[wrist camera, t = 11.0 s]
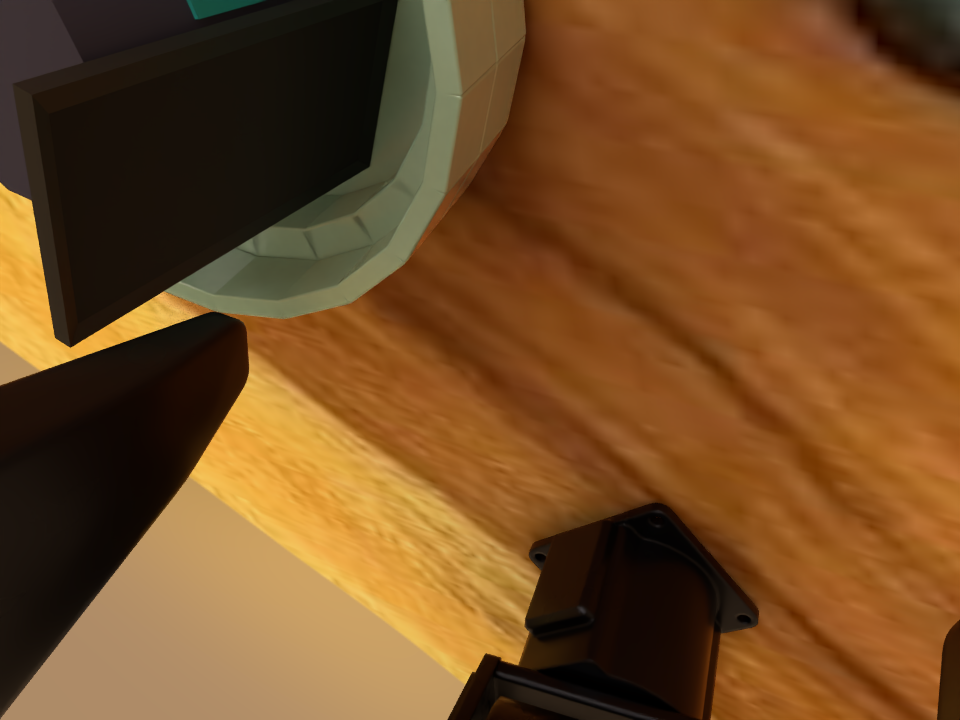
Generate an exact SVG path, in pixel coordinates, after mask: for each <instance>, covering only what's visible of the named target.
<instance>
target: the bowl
mask: <svg viewBox="0 0 960 720" xmlns="http://www.w3.org/2000/svg"><path fill="white" fill-rule="evenodd" d="M525 35H526V25H525V12H524V0H398V2H397V8H396V14H395V19H394V25H393V31H392V37H391V43H390V49H389V55H388V61H387V67H386V73H385V78H384V84H383V90H382V96H381V102H380V108H379V114H378V120H377V126H376V132H375V138H374V143H373V149H372V155H371V161H370V167H369V168H367V169H365V170H364V171H362V172H360V173H359V174H357V175H355V176H354V177H352V178H350V179H349V180H347V181H346V182H344V183H342V184H341V185H339V186H337V187H336V188H334V189H332V190H331V191H329V192H327V193H326V194H324V195H322V196H321V197H319V198H317V199H316V200H314V201H312V202H311V203H309V204H307V205H306V206H304V207H302V208H301V209H299V210H297V211H296V212H294V213H293V214H291V215H289V216H288V217H286V218H284V219H283V220H281V221H279V222H278V223H276V224H274V225H273V226H271V227H269V228H268V229H266V230H264V231H263V232H261V233H259V234H258V235H256V236H254V237H253V238H251V239H249V240H248V241H246V242H245V243H243V244H241V245H240V246H238V247H236V248H235V249H233V250H231V251H230V252H228V253H226V254H225V255H223V256H221V257H220V258H218V259H216V260H215V261H213V262H211V263H210V264H208V265H206V266H205V267H203V268H201V269H200V270H198V271H196V272H195V273H193V274H192V275H190V276H188V277H187V278H185V279H183V280H182V281H180V282H178V283H177V284H175V285H173V286H172V287H170V288H168V289H167V290H165V291H164V292H166V293H169V294H172V295H174V296H177V297H179V298H182V299H185V300H187V301H190V302H192V303H195V304H197V305H200V306H203V307H205V308H208V309H210V310H213V311H216V312H217V311H218V312H220V313H230V314H239V315H249V316H259V317H268V318H278V319H286V318H287V319H288V318H293V317H297V316H301V315H305V314H309V313H314V312H318V311H322V310H326V309H330V308H335V307H339V306H343V305H347V304H350V303H353V302H354V301H355V300H357V299H358V298H360V297H361V296H362V295H364V294H365V293H366V292H368V291H369V290H370V289H372V288H373V287H375V286H376V285H377V284H379V283H380V282H381V281H383V280H384V279H385V278H387V277H388V276H390V275H391V274H392V273H394V272H395V271H396V270H398V269H399V268H400V267H402V266H403V265H404V264H405V263H406V262H407V261H408V260H409V259H410V258H411V256H412V255H413V254H414V253H415V251H416V250H417V249H418V248H419V246H420V245H421V244H422V243H423V242H424V240H425V239H426V238H427V237H428V235H429V234H430V233H431V232H432V230H433V229H434V228H435V227H436V226H437V224H438V223H439V222H440V221H441V219H442V218H443V217H444V216H445V215H446V213H447V212H448V211H449V210H450V208H451V207H452V206H453V205H454V203H455V202H456V201H457V200H458V199H459V197H460V196H461V195H462V194H463V192H464V191H465V190H466V189H467V187H468V186H469V185H470V184H471V182H472V180H473V179H474V177H475V175H476V174H477V172H478V170H479V169H480V167H481V165H482V164H483V162H484V160H485V159H486V157H487V156H488V154H489V152H490V151H491V149H492V147H493V146H494V144H495V142H496V141H497V139H498V137H499V136H500V134H501V132H502V131H503V129H504V127H505V126H506V122H507V121H508V117H509V113H510V108H511V104H512V99H513V94H514V90H515V85H516V80H517V76H518V71H519V66H520V62H521V57H522V53H523V48H524V43H525Z"/></svg>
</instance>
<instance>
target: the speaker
mask: <svg viewBox="0 0 960 720" xmlns="http://www.w3.org/2000/svg"><path fill="white" fill-rule="evenodd" d="M397 2H398V0H0V182H1V183H2V184H3V185H4V186H5V187H6V188H7V189H8V190H10V191H12V192H14V193H17V194H19V195H21V196H23V197H25V198H28V199H30V200H32V204H33V210H34V216H35V222H36V228H37V234H38V240H39V246H40V252H41V258H42V264H43V269H44V275H45V281H46V287H47V293H48V299H49V305H50V311H51V317H52V323H53V329H54V335H55V338H56V339H58V340H59V341H61V342H62V343H64V344H65V345H67V346H69V347H70V348H71V347H72V346H74V345H76V344H77V343H79V342H81V341H82V340H84V339H86V338H87V337H89V336H91V335H92V334H94V333H95V332H97V331H99V330H100V329H102V328H104V327H105V326H107V325H109V324H110V323H112V322H114V321H115V320H117V319H119V318H120V317H122V316H124V315H125V314H127V313H129V312H130V311H132V310H134V309H135V308H137V307H139V306H140V305H142V304H143V303H145V302H147V301H148V300H150V299H152V298H153V297H155V296H157V295H158V294H160V293H162V292H163V291H165V290H167V289H168V288H170V287H172V286H173V285H175V284H177V283H178V282H180V281H182V280H183V279H185V278H187V277H188V276H190V275H192V274H193V273H195V272H196V271H198V270H200V269H201V268H203V267H205V266H206V265H208V264H210V263H211V262H213V261H215V260H216V259H218V258H220V257H221V256H223V255H225V254H226V253H228V252H230V251H231V250H233V249H235V248H236V247H238V246H240V245H241V244H243V243H245V242H246V241H248V240H249V239H251V238H253V237H254V236H256V235H258V234H259V233H261V232H263V231H264V230H266V229H268V228H269V227H271V226H273V225H274V224H276V223H278V222H279V221H281V220H283V219H284V218H286V217H288V216H289V215H291V214H293V213H294V212H296V211H297V210H299V209H301V208H302V207H304V206H306V205H307V204H309V203H311V202H312V201H314V200H316V199H317V198H319V197H321V196H322V195H324V194H326V193H327V192H329V191H331V190H332V189H334V188H336V187H337V186H339V185H341V184H342V183H344V182H346V181H347V180H349V179H350V178H352V177H354V176H355V175H357V174H359V173H360V172H362V171H364V170H365V169H367V168H369V167H370V161H371V155H372V149H373V143H374V138H375V132H376V126H377V120H378V114H379V108H380V102H381V96H382V90H383V84H384V78H385V73H386V67H387V61H388V55H389V49H390V43H391V37H392V31H393V25H394V19H395V14H396V8H397Z"/></svg>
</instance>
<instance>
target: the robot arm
mask: <svg viewBox="0 0 960 720" xmlns="http://www.w3.org/2000/svg"><path fill="white" fill-rule="evenodd" d="M248 374H249V359H248V344H247V331H246V327H245V325H244V323H243V322H242V321H240V320H238V319H236V318H233V317H230V316H227V315H224V314H222V313H219V312H210V313H206V314H203V315H200V316H197V317H194V318H192V319H189V320H186V321H183V322H180V323H177V324H174V325H172V326H169V327H166V328H163V329H160V330H157V331H155V332H152V333H149V334H146V335H143V336H140V337H137V338H135V339H132V340H129V341H126V342H123V343H120V344H117V345H115V346H112V347H109V348H106V349H103V350H100V351H97V352H95V353H92V354H89V355H86V356H83V357H80V358H77V359H75V360H72V361H69V362H66V363H63V364H60V365H58V366H55V367H52V368H49V369H46V370H43V371H40V372H38V373H35V374H32V375H29V376H26V377H23V378H20V379H18V380H15V381H12V382H9V383H7V384H3V385H1V386H0V718H1V717H2V716H3V715H4V713H5V712H6V711H7V710H8V708H9V707H10V706H11V704H12V703H13V702H14V700H15V699H16V698H17V697H18V695H19V694H20V693H21V691H22V690H23V689H24V688H25V686H26V685H27V684H28V683H29V681H30V680H31V679H32V678H33V676H34V675H35V674H36V672H37V671H38V670H39V669H40V667H41V666H42V665H43V663H44V662H45V661H46V660H47V658H48V657H49V656H50V655H51V653H52V652H53V651H54V649H55V648H56V647H57V646H58V644H59V643H60V642H61V640H62V639H63V638H64V637H65V635H66V634H67V632H68V631H69V630H70V629H71V628H72V626H73V625H74V624H75V622H76V621H77V620H78V619H79V617H80V616H81V615H82V614H83V612H84V611H85V610H86V608H87V607H88V606H89V605H90V603H91V602H92V601H93V600H94V598H95V597H96V596H97V594H98V593H99V592H100V591H101V589H102V588H103V587H104V585H105V584H106V583H107V582H108V580H109V579H110V578H111V577H112V575H113V574H114V573H115V571H116V570H117V569H118V568H119V566H120V565H121V564H122V562H123V561H124V560H125V559H126V557H127V556H128V555H129V554H130V552H131V551H132V550H133V548H134V547H135V546H136V545H137V543H138V542H139V541H140V539H141V538H142V537H143V536H144V534H145V533H146V532H147V530H148V529H149V528H150V527H151V525H152V524H153V523H154V522H155V520H156V519H157V518H158V516H159V515H160V514H161V513H162V511H163V510H164V509H165V507H166V506H167V505H168V504H169V502H170V501H171V500H172V499H173V497H174V496H175V495H176V493H177V492H178V491H179V489H180V488H181V487H182V485H183V484H184V482H185V481H186V480H187V478H188V477H189V475H190V474H191V472H192V471H193V469H194V467H195V466H196V464H197V463H198V461H199V459H200V458H201V456H202V455H203V453H204V451H205V450H206V448H207V446H208V445H209V443H210V442H211V440H212V438H213V437H214V435H215V433H216V432H217V430H218V429H219V427H220V425H221V424H222V422H223V420H224V419H225V417H226V415H227V414H228V412H229V411H230V409H231V407H232V406H233V404H234V402H235V401H236V399H237V398H238V396H239V394H240V393H241V391H242V389H243V388H244V386H245V384H246V381H247V378H248ZM655 516H658V517H661V518H657V517H655ZM529 557H530V559H531V560H532V561H533V562H534V563H535V565H536V566H537V567H538V568H539V569H540V570H541V574H540V577H539V580H538V583H537V586H536V589H535V592H534V595H533V597H532V600H531V603H530V606H529V609H528V612H527V615H526V618H525V628H526V629H527V630H528V631H529V635H528V638H527V641H526V644H525V647H524V650H523V653H522V656H521V659H520V662H519V665H514V664H511V663H508V662H504V661H501V657H497V656H494V655H490V654H487V653H486V654H485V655H484V657H483V659H482V661H481V663H480V665H479V667H478V669H477V671H476V673H475V672H472V674H471V675H470V677H469V679H468V681H467V683H466V685H465V687H464V689H463V691H462V693H461V695H460V697H459V698H458V701H457V702H456V705H455V706H454V708H453V710H452V712H451V714H450V716H449V718H448V720H710V719H711V711H712V702H713V694H714V686H715V677H716V669H717V660H718V652H719V644H720V635H721V633H726V632H731V631H737V630H742V629H747V628H752V627H754V626H756V625H757V624H758V617H759V610H758V609H757V607H756V606H755V605H754V604H753V603H752V601H751V600H750V599H749V598H748V597H747V596H746V595H745V593H744V592H743V591H742V590H741V589H740V588H739V587H738V585H737V584H736V583H735V582H734V581H733V580H732V579H731V577H730V576H729V575H728V574H727V573H726V572H725V571H724V569H723V568H722V567H721V566H720V565H719V564H718V563H717V561H716V560H715V559H714V558H713V557H712V556H711V555H710V553H709V552H708V551H707V550H706V549H705V548H704V547H703V545H702V544H701V543H700V542H699V541H698V540H697V539H696V537H695V536H694V535H693V534H692V533H691V532H690V531H689V529H688V528H687V527H686V526H685V525H684V524H683V523H682V521H681V520H680V519H679V518H678V517H677V516H676V515H675V513H674V512H673V511H672V510H671V509H670V508H669V507H668V506H666V505H663V504H660V503H652V504H648V505H645V506H642V507H639V508H636V509H633V510H630V511H627V512H624V513H621V514H618V515H615V516H612V517H609V518H606V519H603V520H600V521H597V522H594V523H591V524H588V525H584V526H581V527H578V528H575V529H572V530H569V531H566V532H563V533H560V534H557V535H555V536H552V537H549V538H546V539H543V540H540V541H537V542H535V543H533V544H532V547H531V549H530V552H529ZM937 720H960V620H959V621H958V622H957V623H956V624H955V625H954V626H953V627H952V628H951V629H950V630H949V632H948V634H947V636H946V638H945V641H944V645H943V652H942V665H941V677H940V689H939V702H938V714H937Z"/></svg>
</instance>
